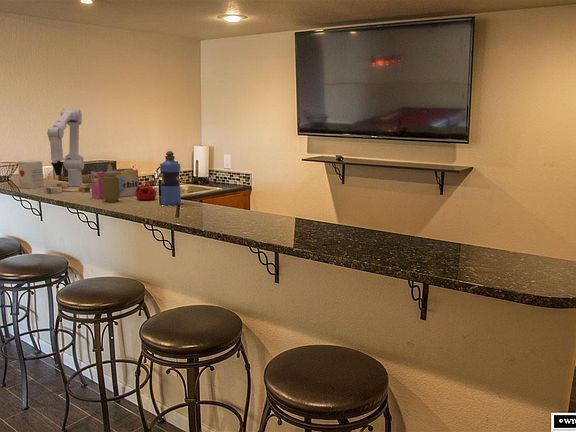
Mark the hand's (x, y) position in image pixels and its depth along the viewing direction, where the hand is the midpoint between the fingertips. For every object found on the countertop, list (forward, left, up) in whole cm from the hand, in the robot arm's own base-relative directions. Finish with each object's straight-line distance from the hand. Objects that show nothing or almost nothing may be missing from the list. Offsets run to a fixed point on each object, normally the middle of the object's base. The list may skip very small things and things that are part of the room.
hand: (58, 175), depth 264 cm
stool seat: (-2, +6, -9) cm, 11 cm away
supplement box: (-16, -18, -9) cm, 26 cm away
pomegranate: (+34, +46, -9) cm, 58 cm away
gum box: (+21, +31, -9) cm, 39 cm away
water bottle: (+48, +58, -9) cm, 76 cm away
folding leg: (+5, -1, -9) cm, 10 cm away
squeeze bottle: (+38, +30, -9) cm, 49 cm away
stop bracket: (+9, 0, -9) cm, 12 cm away
